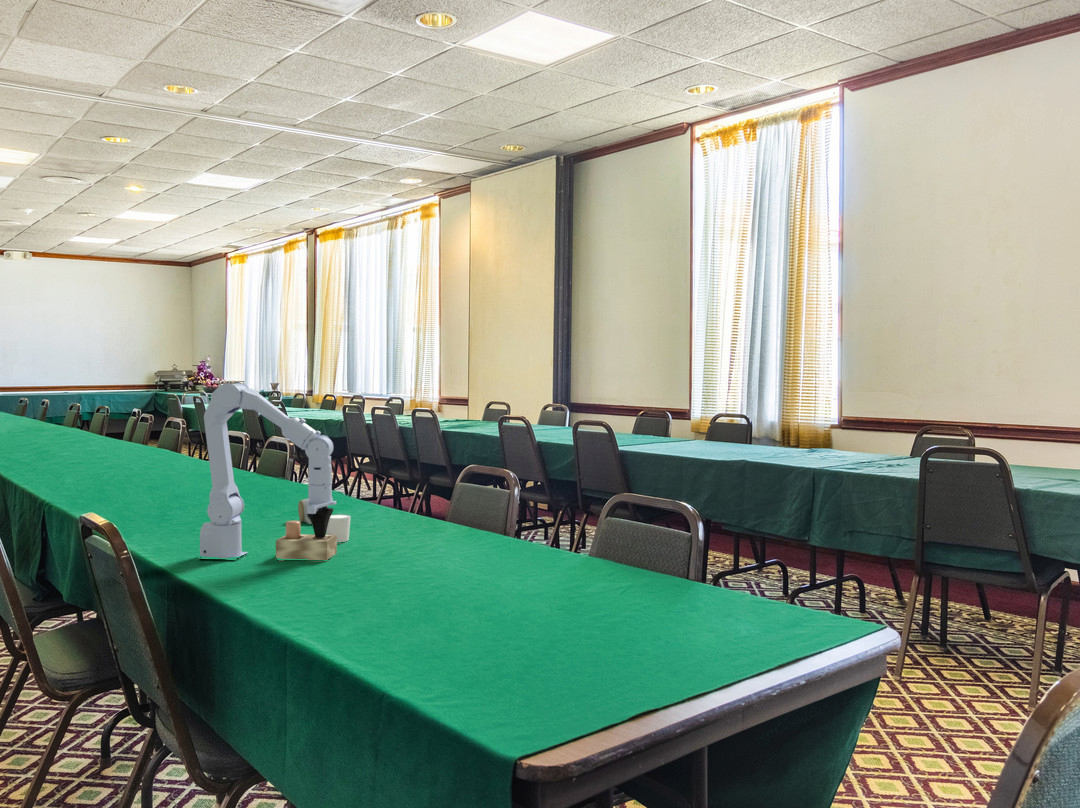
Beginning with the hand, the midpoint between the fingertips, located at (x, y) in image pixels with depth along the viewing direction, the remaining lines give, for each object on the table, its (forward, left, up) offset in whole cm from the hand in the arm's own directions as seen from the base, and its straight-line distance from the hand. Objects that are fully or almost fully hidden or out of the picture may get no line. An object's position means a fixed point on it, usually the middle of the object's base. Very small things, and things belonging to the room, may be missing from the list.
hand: (320, 537), depth 215 cm
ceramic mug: (-17, +47, -5) cm, 50 cm away
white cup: (-2, +20, -5) cm, 21 cm away
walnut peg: (0, 0, -5) cm, 5 cm away
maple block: (-4, 0, -5) cm, 6 cm away
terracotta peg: (-7, 0, -1) cm, 7 cm away
